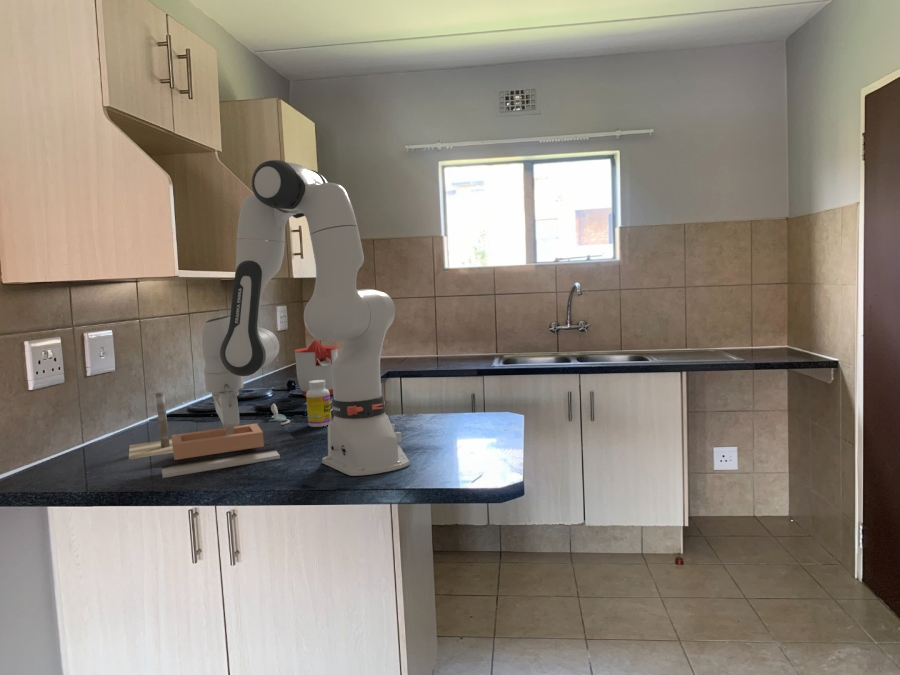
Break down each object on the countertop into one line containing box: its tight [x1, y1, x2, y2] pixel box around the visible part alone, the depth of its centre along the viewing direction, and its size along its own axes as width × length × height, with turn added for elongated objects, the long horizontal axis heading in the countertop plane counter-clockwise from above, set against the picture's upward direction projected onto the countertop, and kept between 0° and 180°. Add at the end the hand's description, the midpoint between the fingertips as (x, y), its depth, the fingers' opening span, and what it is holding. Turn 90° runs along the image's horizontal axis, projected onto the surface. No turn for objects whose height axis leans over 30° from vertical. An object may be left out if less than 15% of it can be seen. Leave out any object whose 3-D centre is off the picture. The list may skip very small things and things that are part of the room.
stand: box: [128, 391, 173, 460], centre depth 177 cm, size 16×28×16 cm, turn 114°
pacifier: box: [268, 403, 291, 426], centre depth 202 cm, size 7×6×6 cm
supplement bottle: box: [305, 380, 332, 428], centre depth 196 cm, size 7×7×13 cm
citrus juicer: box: [293, 339, 339, 398], centre depth 245 cm, size 16×17×20 cm
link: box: [171, 422, 265, 461], centre depth 164 cm, size 10×20×4 cm, turn 114°
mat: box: [160, 447, 281, 479], centre depth 164 cm, size 14×26×1 cm, turn 114°
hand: (229, 437), depth 168 cm, fingers closed on link, 2 cm apart
